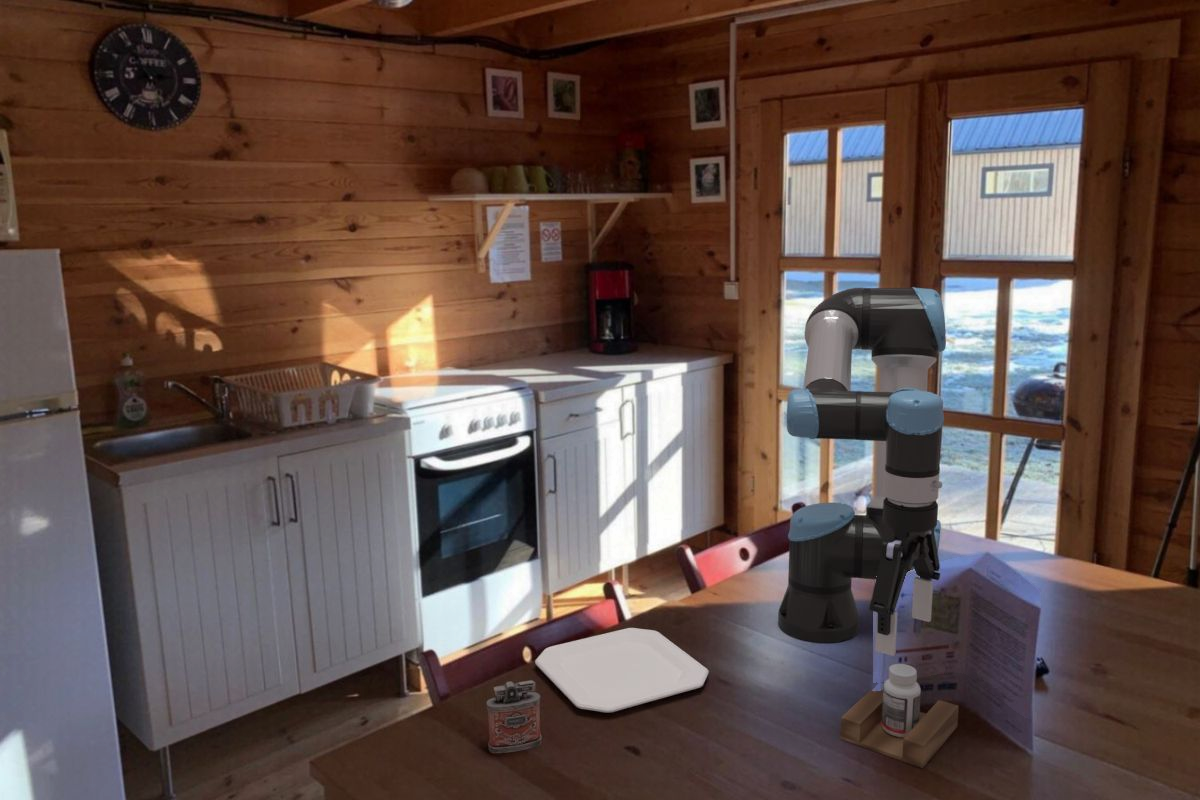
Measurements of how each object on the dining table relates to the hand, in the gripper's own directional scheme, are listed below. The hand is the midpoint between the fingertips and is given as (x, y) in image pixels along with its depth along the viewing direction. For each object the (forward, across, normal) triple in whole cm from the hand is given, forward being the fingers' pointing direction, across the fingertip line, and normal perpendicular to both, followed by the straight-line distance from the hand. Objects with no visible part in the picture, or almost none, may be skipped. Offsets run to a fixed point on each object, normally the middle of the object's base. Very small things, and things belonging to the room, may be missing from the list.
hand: (903, 635), depth 143 cm
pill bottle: (+15, 0, 0) cm, 15 cm away
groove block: (+16, -1, 0) cm, 16 cm away
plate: (+16, -12, +45) cm, 49 cm away
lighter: (+16, -39, +44) cm, 60 cm away
